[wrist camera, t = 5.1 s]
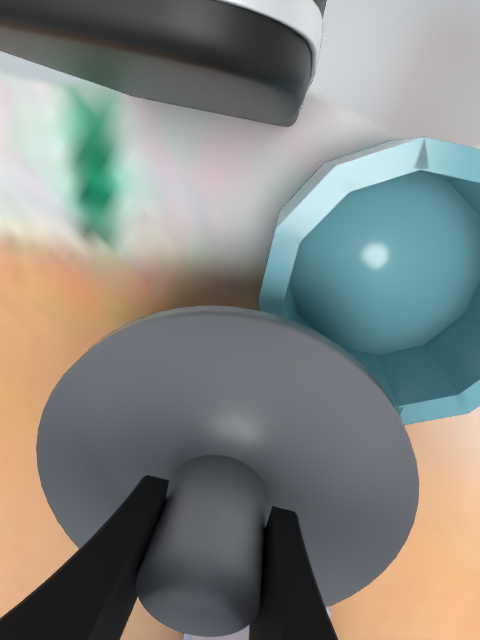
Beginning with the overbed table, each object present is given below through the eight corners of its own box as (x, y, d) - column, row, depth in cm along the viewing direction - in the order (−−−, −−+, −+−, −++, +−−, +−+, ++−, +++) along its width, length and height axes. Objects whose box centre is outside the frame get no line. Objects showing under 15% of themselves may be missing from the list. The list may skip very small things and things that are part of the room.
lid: (344, 628, 15) (360, 777, 11) (47, 551, 15) (-28, 673, 12) (477, 362, 10) (569, 468, 7) (56, 262, 11) (-58, 316, 7)
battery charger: (327, 8, 14) (428, -416, 4) (300, 130, 16) (314, 84, 5) (128, -29, 14) (-327, -527, 4) (120, 94, 16) (-224, -22, 5)
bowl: (444, 383, 19) (487, 449, 14) (249, 335, 19) (236, 387, 15) (543, 176, 15) (637, 184, 11) (301, 121, 15) (305, 109, 11)
